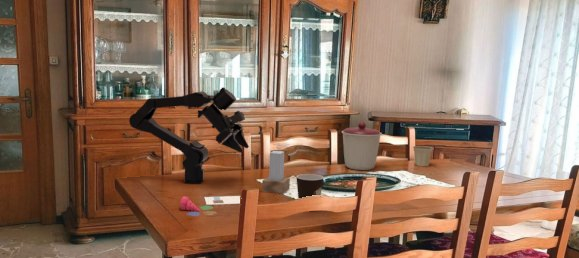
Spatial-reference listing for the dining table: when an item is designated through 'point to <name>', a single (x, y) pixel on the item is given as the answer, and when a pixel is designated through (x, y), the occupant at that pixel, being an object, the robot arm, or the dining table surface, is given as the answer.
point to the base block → (276, 185)
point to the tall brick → (276, 166)
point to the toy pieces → (194, 207)
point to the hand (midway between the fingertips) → (245, 149)
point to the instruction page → (222, 200)
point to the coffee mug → (309, 185)
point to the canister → (360, 147)
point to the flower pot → (422, 155)
